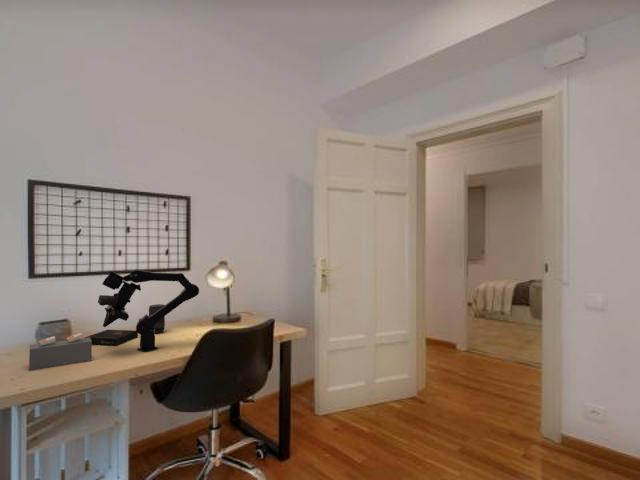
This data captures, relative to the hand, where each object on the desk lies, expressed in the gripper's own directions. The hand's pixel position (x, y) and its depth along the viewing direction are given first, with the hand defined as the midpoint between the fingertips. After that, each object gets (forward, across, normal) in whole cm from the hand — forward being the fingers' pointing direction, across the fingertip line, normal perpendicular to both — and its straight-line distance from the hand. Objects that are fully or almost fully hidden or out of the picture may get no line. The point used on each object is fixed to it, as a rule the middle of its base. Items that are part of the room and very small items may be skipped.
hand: (104, 326), depth 158 cm
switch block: (+17, +5, -9) cm, 20 cm away
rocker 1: (+11, +2, -17) cm, 20 cm away
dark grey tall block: (0, -20, +36) cm, 41 cm away
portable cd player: (+10, -18, +16) cm, 26 cm away
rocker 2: (+7, +3, -9) cm, 12 cm away
